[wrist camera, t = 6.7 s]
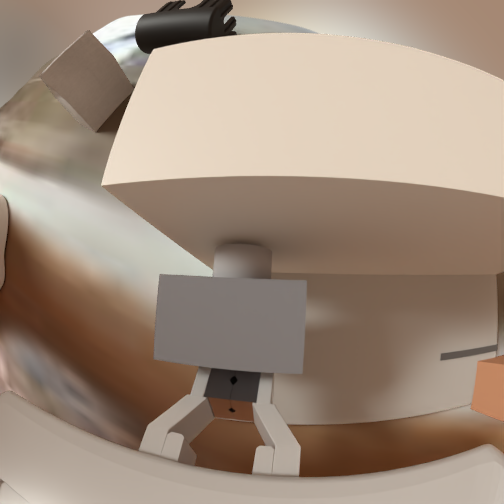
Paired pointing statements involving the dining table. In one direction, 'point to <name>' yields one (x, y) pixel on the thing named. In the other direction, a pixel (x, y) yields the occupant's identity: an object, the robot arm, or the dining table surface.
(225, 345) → the grey plug
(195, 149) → the plug console
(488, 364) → the orange thick block
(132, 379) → the dining table surface
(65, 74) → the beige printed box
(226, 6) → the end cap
